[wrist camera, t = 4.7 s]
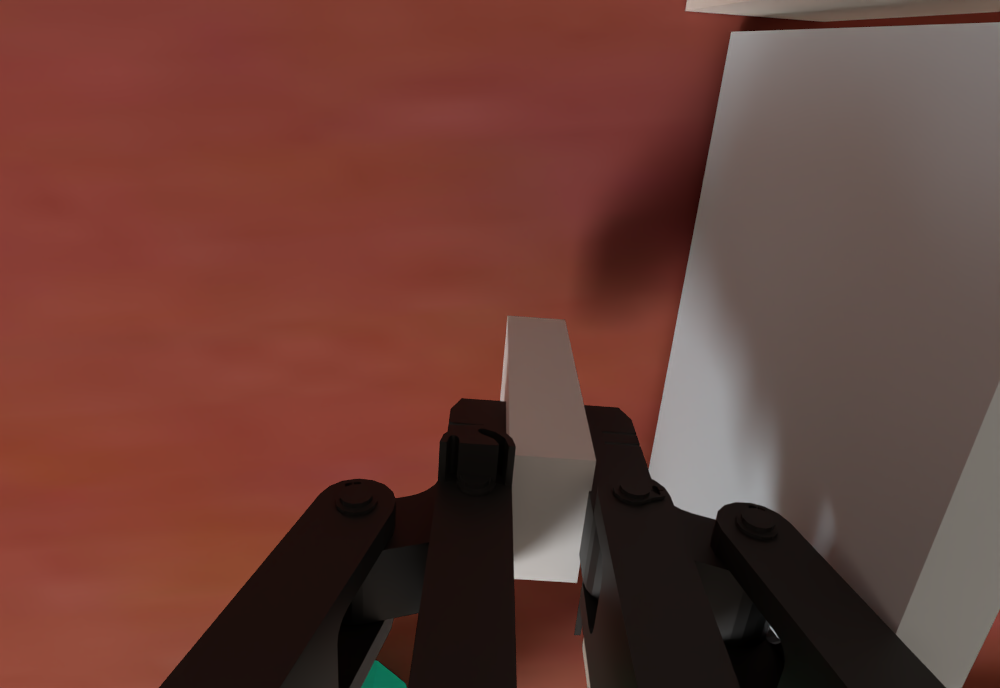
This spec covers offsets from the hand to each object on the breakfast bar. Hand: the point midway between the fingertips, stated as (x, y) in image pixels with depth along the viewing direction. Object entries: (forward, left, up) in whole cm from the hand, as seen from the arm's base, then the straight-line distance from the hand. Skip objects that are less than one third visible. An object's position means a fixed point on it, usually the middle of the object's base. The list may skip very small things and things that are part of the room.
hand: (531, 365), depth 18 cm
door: (0, +6, -2) cm, 6 cm away
